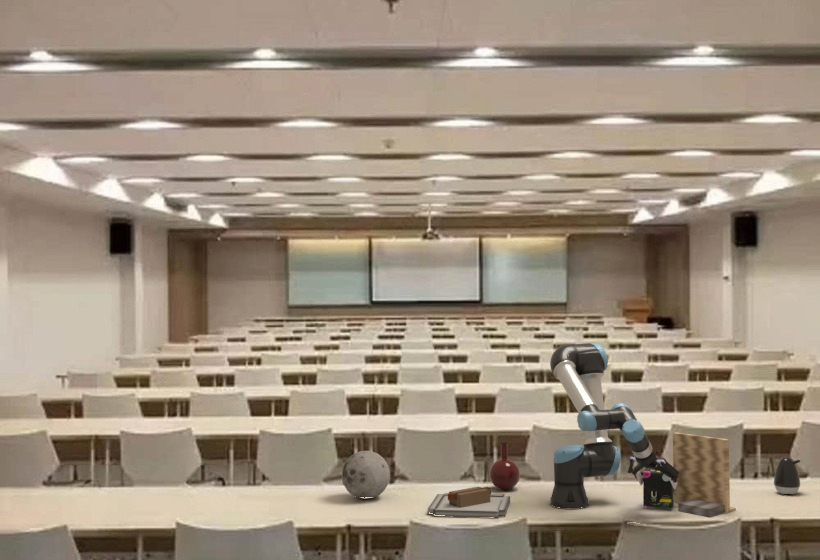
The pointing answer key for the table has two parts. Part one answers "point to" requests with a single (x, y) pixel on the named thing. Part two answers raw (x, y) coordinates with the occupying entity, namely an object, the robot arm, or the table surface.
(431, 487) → the table surface
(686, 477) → the board
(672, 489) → the tampon box
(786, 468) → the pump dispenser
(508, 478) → the round-bottom flask
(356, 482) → the moon model
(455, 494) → the grey tray with block
